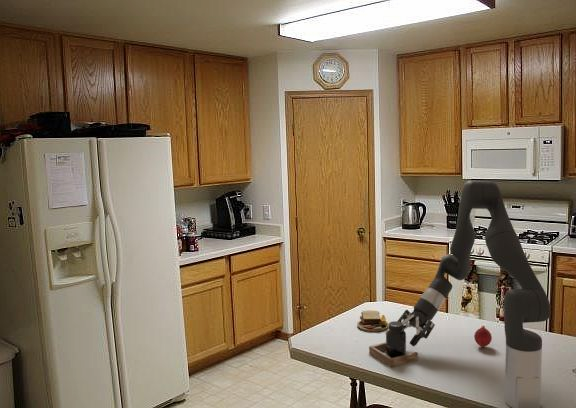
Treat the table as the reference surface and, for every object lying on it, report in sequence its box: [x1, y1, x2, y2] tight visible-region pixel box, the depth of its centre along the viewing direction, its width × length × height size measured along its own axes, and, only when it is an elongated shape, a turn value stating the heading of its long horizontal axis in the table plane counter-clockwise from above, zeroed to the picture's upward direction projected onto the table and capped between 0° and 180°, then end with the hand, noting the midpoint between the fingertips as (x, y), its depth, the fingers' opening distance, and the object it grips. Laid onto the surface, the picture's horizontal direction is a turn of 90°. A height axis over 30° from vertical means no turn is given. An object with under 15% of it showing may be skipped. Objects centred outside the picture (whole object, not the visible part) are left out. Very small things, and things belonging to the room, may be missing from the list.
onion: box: [473, 324, 493, 348], centre depth 187 cm, size 6×6×8 cm
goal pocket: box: [368, 341, 419, 368], centre depth 183 cm, size 11×13×2 cm
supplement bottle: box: [385, 320, 407, 358], centre depth 182 cm, size 7×7×12 cm
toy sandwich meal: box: [356, 310, 389, 333], centre depth 212 cm, size 12×14×5 cm
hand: (403, 340), depth 184 cm, fingers open, 8 cm apart
